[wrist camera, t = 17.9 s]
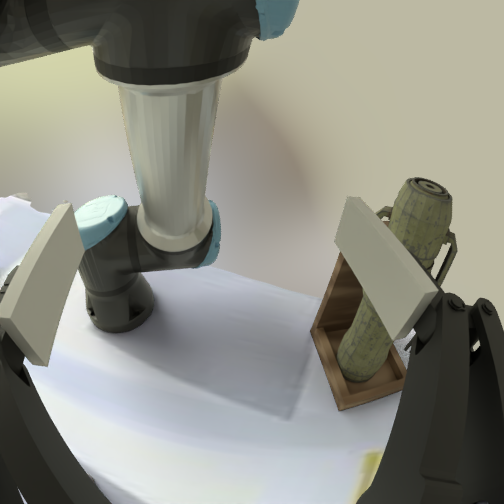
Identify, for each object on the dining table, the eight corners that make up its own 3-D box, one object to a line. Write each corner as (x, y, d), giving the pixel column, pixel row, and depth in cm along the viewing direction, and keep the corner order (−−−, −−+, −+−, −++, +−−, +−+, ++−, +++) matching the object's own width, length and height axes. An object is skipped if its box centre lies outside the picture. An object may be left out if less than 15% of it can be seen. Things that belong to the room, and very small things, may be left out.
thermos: (335, 336, 52) (386, 161, 32) (388, 355, 48) (467, 190, 27) (319, 369, 46) (378, 180, 26) (377, 392, 42) (480, 217, 21)
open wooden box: (310, 331, 54) (350, 220, 38) (370, 321, 57) (421, 222, 41) (338, 411, 40) (419, 317, 24) (404, 389, 43) (486, 297, 27)
